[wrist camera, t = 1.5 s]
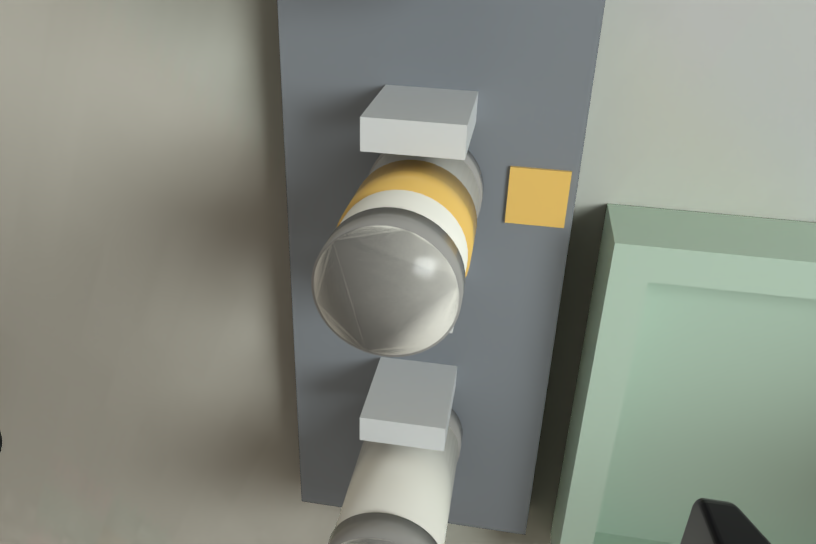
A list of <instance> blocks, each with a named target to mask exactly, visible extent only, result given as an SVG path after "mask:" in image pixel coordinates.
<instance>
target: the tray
mask: <svg viewBox="0 0 816 544" xmlns="http://www.w3.org/2000/svg"><path fill="white" fill-rule="evenodd" d="M700 498H708V499H715V500H721V501H728V502H731V503H733V504H735V505H736V506H737V507H738V508H739V509H740V510H741V511H742V512H743V513H744V514H745V515H746V516H747V517H748V519H749V520H750V521H751V522H752V523H753V524H754V525H755V526H756V527H757V528H758V530H759V531H760V532H761V533H762V534H763V535H764V536H765V537H766V538H767V539H768V541H769V542H770V543H771V544H816V223H813V222H802V221H791V220H780V219H769V218H758V217H747V216H736V215H725V214H714V213H703V212H692V211H681V210H670V209H659V208H648V207H637V206H626V205H615V204H607V209H606V215H605V221H604V227H603V232H602V238H601V244H600V250H599V256H598V261H597V267H596V273H595V279H594V285H593V290H592V296H591V302H590V308H589V314H588V319H587V325H586V331H585V337H584V342H583V348H582V354H581V360H580V366H579V371H578V377H577V383H576V389H575V395H574V400H573V406H572V412H571V418H570V424H569V429H568V435H567V441H566V447H565V453H564V458H563V464H562V470H561V476H560V482H559V487H558V493H557V499H556V505H555V511H554V516H553V522H552V528H551V544H680V543H681V540H682V537H683V534H684V531H685V528H686V524H687V521H688V518H689V515H690V512H691V509H692V506H693V504H694V503H695V501H696V500H697V499H700Z"/></svg>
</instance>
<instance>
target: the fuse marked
mask: <svg viewBox="0 0 816 544" xmlns="http://www.w3.org/2000/svg"><path fill="white" fill-rule="evenodd" d="M483 192H484V184H483V177H482V173H481V170H480V167H479V165H478V163H477V161H476V160H475V158H474V156H473V155H472V154H471V153H470V151H469V150H468V151H467V155H466V158H465V160H457V159H445V158H434V157H422V156H410V155H398V154H387V153H381V154H380V155H379V156H378V158H377V160H376V161H375V163H374V165H373V166H372V168H371V170H370V172H369V175H368V177H367V178H366V179H365V180H364V181H363V183H362V184H361V185H360V187H359V188H358V190H357V192H356V193H355V195H354V197H353V198H352V200H351V202H350V203H349V205H348V206H347V208H346V210H345V211H344V213H343V215H342V217H341V218H340V220H339V222H338V225H337V228H336V229H335V230H334V231H333V233H332V234H331V235H330V237H329V239H328V240H327V242H326V243H325V245H324V247H323V248H322V250H321V252H320V253H319V255H318V257H317V259H316V261H315V264H314V267H313V271H312V277H311V288H312V295H313V299H314V303H315V305H316V308H317V310H318V312H319V314H320V316H321V318H322V319H323V321H324V322H325V323H326V325H327V326H328V327H329V328H330V329H331V330H332V331H333V333H335V334H336V335H337V336H338V337H339V338H340V339H342V340H343V341H345V342H346V343H348V344H349V345H351V346H353V347H355V348H357V349H359V350H361V351H364V352H367V353H370V354H374V355H378V356H384V357H404V356H410V355H414V354H418V353H421V352H423V351H426V350H428V349H430V348H432V347H433V346H435V345H437V344H438V343H439V342H440V341H442V340H443V339H444V338H445V337H446V336H447V335H448V334H449V332H450V331H451V330H452V328H453V327H454V325H455V323H456V321H457V319H458V316H459V313H460V309H461V304H462V299H463V294H464V288H465V278H466V276H467V273H468V270H469V266H470V261H471V256H472V251H473V246H474V241H475V236H476V230H477V218H478V216H479V212H480V208H481V203H482V198H483Z"/></svg>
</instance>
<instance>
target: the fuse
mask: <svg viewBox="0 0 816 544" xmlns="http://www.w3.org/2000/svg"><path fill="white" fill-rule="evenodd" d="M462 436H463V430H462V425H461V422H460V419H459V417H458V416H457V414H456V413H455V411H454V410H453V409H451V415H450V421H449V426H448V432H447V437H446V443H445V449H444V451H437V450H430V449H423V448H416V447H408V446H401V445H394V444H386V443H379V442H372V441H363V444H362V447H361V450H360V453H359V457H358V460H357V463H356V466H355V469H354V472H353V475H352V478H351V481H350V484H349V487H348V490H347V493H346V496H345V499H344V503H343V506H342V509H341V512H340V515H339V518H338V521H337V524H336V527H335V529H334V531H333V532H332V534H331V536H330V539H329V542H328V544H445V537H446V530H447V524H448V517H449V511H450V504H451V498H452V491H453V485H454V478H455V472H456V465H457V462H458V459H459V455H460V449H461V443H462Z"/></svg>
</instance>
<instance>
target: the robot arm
mask: <svg viewBox="0 0 816 544" xmlns="http://www.w3.org/2000/svg"><path fill="white" fill-rule="evenodd" d="M1 447H2V436H1V432H0V451H1ZM680 544H771V543H770V542H769V541H768V539H767V538H766V537H765V536H764V535H763V534H762V533H761V532H760V531H759V530H758V528H757V527H756V526H755V525H754V524H753V523H752V522H751V521H750V520H749V519H748V517H747V516H746V515H745V514H744V513H743V512H742V511H741V510H740V509H739V508H738V507H737V506H736V505H735V504H733V503H731V502H728V501H721V500H715V499H708V498H700V499H697V500H696V501H695V503H694V504H693V506H692V509H691V512H690V515H689V518H688V521H687V524H686V528H685V531H684V534H683V537H682V540H681V543H680Z"/></svg>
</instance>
